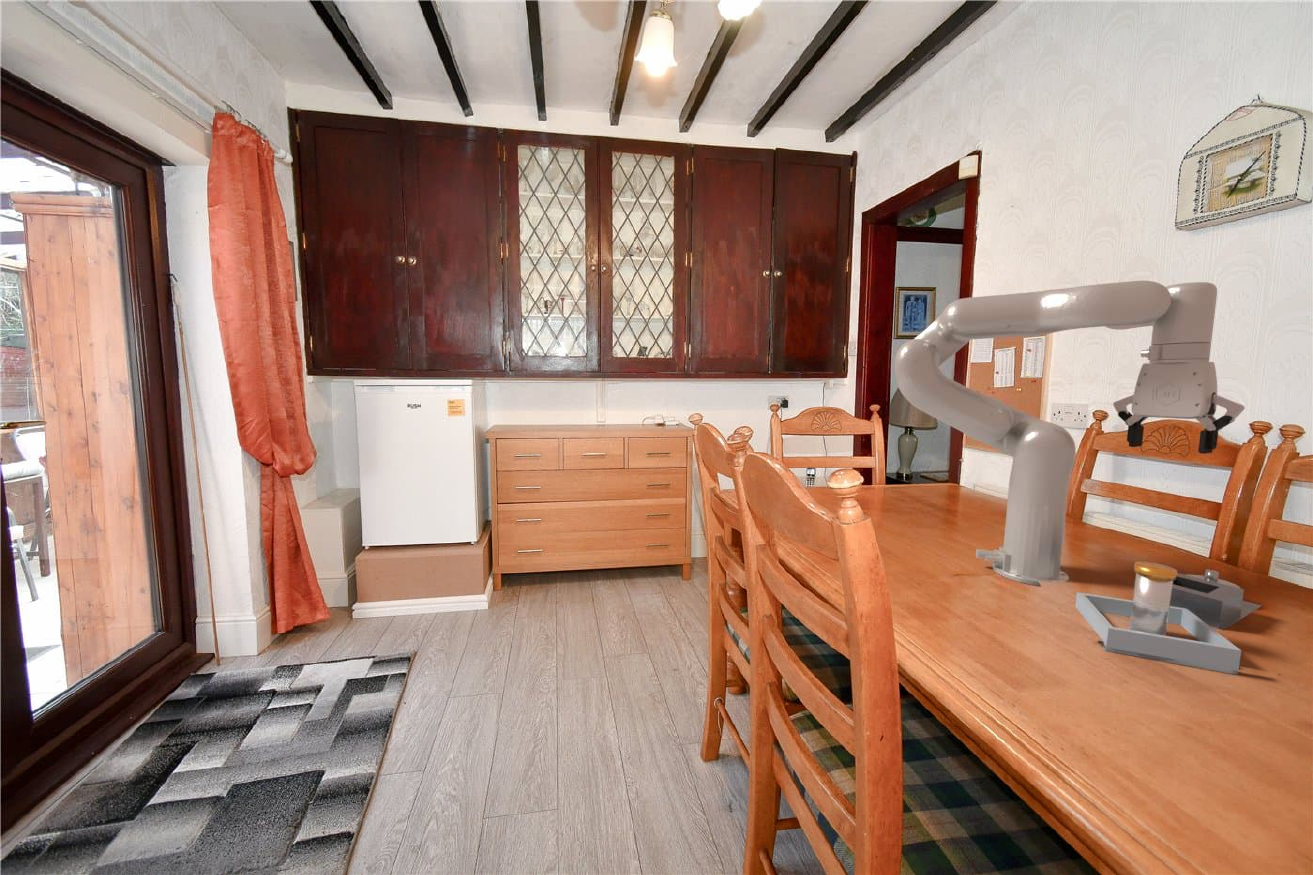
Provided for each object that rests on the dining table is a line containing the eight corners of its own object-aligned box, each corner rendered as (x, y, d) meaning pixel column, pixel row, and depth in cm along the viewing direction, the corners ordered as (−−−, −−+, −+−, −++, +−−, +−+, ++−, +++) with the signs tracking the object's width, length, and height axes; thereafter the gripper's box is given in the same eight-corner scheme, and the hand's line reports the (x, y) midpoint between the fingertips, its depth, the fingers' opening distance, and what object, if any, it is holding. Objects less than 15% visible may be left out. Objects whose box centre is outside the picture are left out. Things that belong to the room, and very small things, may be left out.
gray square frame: (1105, 650, 74) (1108, 628, 74) (1074, 611, 87) (1076, 592, 86) (1237, 675, 68) (1241, 650, 68) (1183, 629, 81) (1186, 608, 81)
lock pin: (1133, 639, 76) (1142, 569, 75) (1121, 625, 81) (1129, 559, 79) (1174, 646, 74) (1183, 574, 73) (1159, 632, 79) (1168, 564, 77)
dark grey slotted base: (1222, 636, 79) (1227, 599, 78) (1131, 607, 88) (1135, 575, 88) (1261, 611, 88) (1266, 578, 87) (1174, 587, 97) (1178, 558, 97)
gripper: (1108, 356, 97) (1100, 445, 98) (1239, 351, 81) (1226, 457, 83) (1130, 357, 99) (1121, 443, 101) (1260, 352, 84) (1247, 454, 86)
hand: (1168, 449), depth 92 cm, fingers open, 9 cm apart
